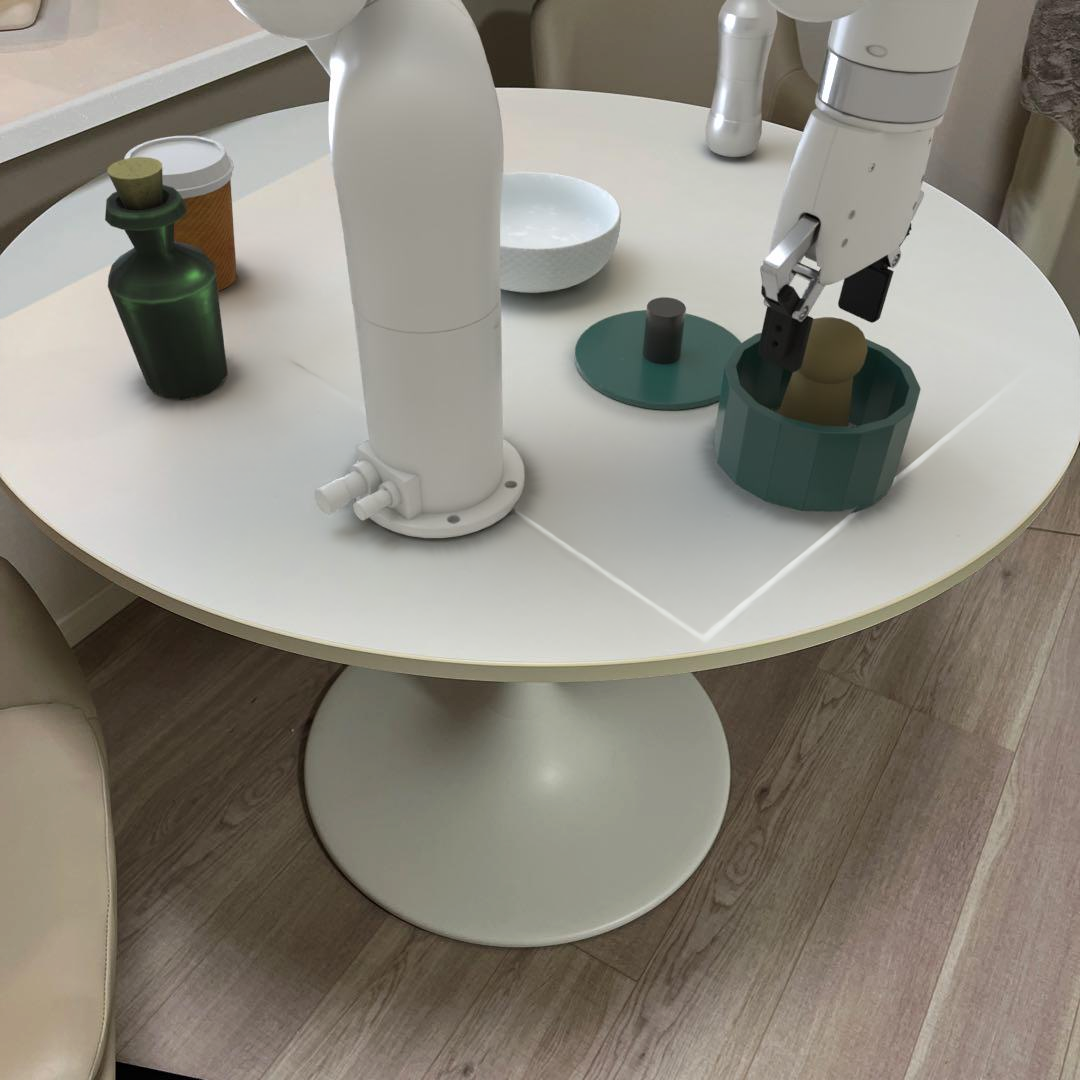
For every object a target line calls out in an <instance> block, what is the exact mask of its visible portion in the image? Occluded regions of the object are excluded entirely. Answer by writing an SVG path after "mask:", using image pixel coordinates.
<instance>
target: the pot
mask: <svg viewBox="0 0 1080 1080" xmlns="http://www.w3.org/2000/svg"><path fill="white" fill-rule="evenodd" d="M761 333H762V332H758V333H756V334H754V335H752V336H750V337H749V338H747V339H745V340H744V341H742V342H741V343H740V344H739V345H737V346H736V347H735V348H734V349H733V351H732V353H731V355H730V357H729V359H728V361H727V362H726V364H725V368H724V375H723V381H722V388H721V394H720V401H718V408H717V415H716V421H715V428H714V433H713V434H714V435H713V441H712V444H713V448H714V454H715V458H716V463H717V464H718V466H719V467H720V468H721V469H722V470H723V471H724V472H725V474H726V475H727V476H728V477H729V479H731V480H732V482H733V483H734V484H735V485H736V486H737V487H740V488H741V489H743V490H745V491H747V492H748V493H750V494H752V495H753V496H755V497H757V498H759V499H760V500H762V501H764V502H765V503H766V502H767V503H770V504H772V505H773V504H774V505H777V506H782V507H786V508H789V509H792V510H795V511H796V510H797V511H801V512H843V511H848V510H851V509H854V510H852V511H851V512H850V514H853V513H854V514H855V513H857V512H861V511H863V510H865V509H868V508H870V507H872V506H874V505H876V503H878V502H879V501H880V500H881V499H882V498H884V497H885V496H886V495H887V494H888V492H889V491H890V489H891V487H892V486H893V483H894V480H895V477H896V475H897V474H896V473H897V470H898V467H899V464H900V461H901V457H902V455H903V451H904V448H905V445H906V441H907V439H908V438H907V437H908V435H909V432H910V428H911V425H912V421H913V418H914V416H915V412H916V409H917V404H918V402H919V397H920V394H921V390H922V389H921V386H920V383H919V382H918V380H917V378H916V376H915V375H916V374H915V373H914V371H913V368H912V367H911V366H910V365H909V364H908V363H906V361H904V360H903V359H902V358H901V357H899V356H898V355H897V354H896V353H894V352H893V351H892V350H891V349H890V348H887V346H883V345H881V344H879V343H876V342H874V341H872V340H870V339H867V338H865V339H866V342H867V354H866V358H865V361H864V364H863V366H862V368H861V369H860V371H859V372H858V373H857V374H856V375H854V376H853V383H852V394H851V404H850V415H849V423H851V424H853V425H855V426H850V425H849V426H820V425H815V424H811V423H807V422H803V421H799V420H794V419H790V418H786V417H784V416H782V415H780V414H778V412H776V411H774V410H772V409H775V408H776V409H777V408H778V409H780V406H781V403H782V401H783V398H784V395H785V393H786V390H787V387H788V384H789V382H790V379H791V376H792V373H793V372H791V371H789V370H787V369H785V368H783V367H781V366H779V365H777V364H775V363H773V362H771V361H769V360H767V359H765V358H763V357H761V356H760V355H759V353H758V347H759V342H760V338H761Z"/></svg>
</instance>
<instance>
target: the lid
mask: <svg viewBox="0 0 1080 1080" xmlns="http://www.w3.org/2000/svg"><path fill="white" fill-rule="evenodd" d="M686 312H687V307H686V305H685V303H684V302H682V300H679V299H676V298H673V297H668V296H667V297H666V296H662V297H656V298H653V299H651V300H649V301H648V303H647V304H646V309H644V310H643V309H642V310H632V311H626V312H621V313H618V314H614V315H611V316H608V317H605V318H602V319H600V320H599V321H597V322H595V323H593V324H592V325H590V326H589V327H587V329H585V330H584V331H583V332H582V334H581V335H580V336H579V338H578V339H577V341H576V345H575V348H574V363H575V367H576V369H577V371H578V373H579V375H580V376H581V377H582V379H583V380H584V381H585V382H586V383H587V384H588V385H589V386H591V387H592V388H593V389H594V390H596V391H597V392H599V393H601V394H602V395H604V396H606V397H608V398H610V399H612V400H615V401H618V402H620V403H623V404H627V405H629V406H633V407H634V406H635V407H638V408H642V409H643V408H644V409H652V410H661V411H662V410H663V411H679V410H688V409H696V408H701V407H705V406H708V405H712V404H715V403H717V402H719V401H720V394H721V388H722V381H723V375H724V368H725V364H726V362H727V361H728V359H729V357H730V355H731V353H732V351H733V349H734V348H735V347H736V346H737V345H739V344H740V343H742V342H741V341H740V339H739V338H738V337H737V336H736V335H734V334H733V333H732V332H731V331H729V330H728V329H726V328H725V327H724V326H722V325H720V324H718V323H716V322H715V321H711V320H709V319H707V318H704V317H700V316H698V315H693V314H689V313H686Z"/></svg>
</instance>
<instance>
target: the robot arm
mask: <svg viewBox="0 0 1080 1080" xmlns="http://www.w3.org/2000/svg"><path fill="white" fill-rule="evenodd" d="M766 1H767V2H768V3H769V4H770V5H771V6H772V7H774V8H775V9H776V11H777V12H779V13H781V14H783V15H784V16H787V17H788V18H790V19H794V20H797V21H801V22H804V23H819V24H821V23H828V22H831V26H830V29H829V30H830V31H829V35H828V38H827V45H826V48H825V53H824V57H823V63H822V68H821V72H820V77H819V82H818V86H817V91H816V95H815V99H814V103H815V106H816V108H814V109H813V110H812V111H811V112H810V115H809V117H808V120H807V122H806V124H805V126H804V128H803V131H802V134H801V137H800V139H799V142H798V144H797V148H796V150H795V154H794V156H793V160H792V162H791V166H790V169H789V172H788V175H787V180H786V182H785V186H784V189H783V193H782V196H781V200H780V203H779V207H778V211H777V215H776V219H775V223H774V226H773V227H774V228H773V230H772V231H773V232H772V235H771V241H770V245H769V252H768V255H767V256H766V257H765V258H764V259H763V261H762V262H761V263H760V264H761V265H760V266H759V267H760V268H759V270H760V271H759V273H760V276H761V277H760V278H761V291H760V293H761V295H762V297H763V305H764V306H765V307H766V310H765V315H764V318H763V319H764V320H763V324H762V329H761V332H760V333H761V338H760V342H759V347H758V353H759V355H760V356H761V357H763V358H765V359H767V360H769V361H771V362H773V363H775V364H777V365H779V366H781V367H783V368H785V369H787V370H789V371H791V372H795V371H797V370H799V369H800V368H801V366H802V363H803V359H804V355H805V351H806V347H807V342H808V338H809V334H810V330H811V326H812V322H813V319H814V317H812V316H810V315H809V314H810V312H811V311H812V309H813V307H814V305H815V304H816V302H817V300H818V299H819V297H820V295H821V294H822V292H823V290H824V289H825V287H826V286H829V285H833V284H836V283H839V282H841V281H843V282H842V287H841V290H840V294H839V298H838V302H837V306H838V308H839V309H840V310H842V311H844V312H846V313H849V314H851V315H853V316H855V317H857V318H860V319H861V320H864V321H866V322H868V323H871V324H872V323H875V322H877V321H878V320H880V318H881V315H882V312H883V308H884V305H885V302H886V298H887V295H888V292H889V289H890V285H891V282H892V279H893V275H894V272H895V271H894V270H892V269H894V268H895V267H897V265H898V264H899V262H900V260H901V258H902V252H901V246H902V244H903V243H904V241H905V240H906V238H907V237H908V236H909V235H910V234H911V233H910V232H911V231H912V230H913V229H912V221H913V219H914V218H915V216H916V213H917V211H918V209H919V207H920V205H921V203H922V201H923V200H924V198H925V197H924V196H925V191H923V190H922V187H923V182H924V178H925V174H926V170H927V167H928V166H927V165H928V162H929V157H930V154H931V148H932V144H933V139H934V135H935V129H936V127H939V125H941V124H942V122H943V120H944V116H945V113H946V111H947V107H948V103H949V101H950V96H951V94H952V90H953V88H954V87H953V86H954V83H955V80H956V77H957V74H958V70H959V66H960V63H961V60H962V57H963V54H964V49H965V46H966V44H967V40H968V36H969V34H970V29H971V27H972V23H973V20H974V16H975V13H976V10H977V6H978V3H979V0H766ZM229 2H230V3H231V4H232V5H233V6H234V8H235V9H236V10H237V11H239V13H241V14H242V16H244V17H246V19H247V20H249V21H250V22H251V23H253V24H254V25H256V26H258V27H259V28H261V29H263V30H265V31H266V32H268V33H269V34H272V35H275V36H278V37H280V38H284V39H288V40H292V41H293V40H294V41H303V42H304V43H305V45H306V46H307V47H308V49H309V51H311V53H312V54H313V55H314V57H315V58H316V59H317V61H318V62H319V64H320V65H321V66H322V67H323V69H324V70H325V72H326V73H327V74H328V76H329V77H330V82H329V99H328V101H329V102H328V142H329V153H330V161H331V169H332V175H333V183H334V188H335V192H336V199H337V205H338V210H339V216H340V223H341V229H342V235H343V243H344V251H345V259H346V266H347V267H346V268H347V275H348V282H349V291H350V299H351V305H352V309H353V317H354V326H355V334H356V342H357V352H358V359H359V368H360V377H361V384H362V392H363V401H364V410H365V418H366V427H367V435H368V440H365V441H364V442H362V443H360V444H358V445H357V446H356V454H357V460H356V462H355V463H354V464H352V465H351V466H350V467H349V468H348V474H346V475H343V476H342V477H340V478H335V479H333V480H331V481H330V482H328V483H326V484H324V485H322V486H320V487H318V488H316V489H314V492H313V495H314V500H315V502H316V505H317V506H318V508H319V509H320V510H321V512H323V513H324V514H325V515H328V516H329V515H331V514H333V513H335V512H337V511H339V510H340V509H342V508H343V507H346V506H347V505H349V504H350V503H352V501H353V500H355V502H354V503H352V509H353V512H354V514H355V515H356V517H357V518H358V519H359V520H361V521H365V520H367V519H370V520H371V521H372V522H374V523H376V524H377V525H378V526H380V527H383V528H384V529H386V530H388V531H389V530H390V531H392V532H394V533H397V534H401V535H404V536H409V537H414V538H421V539H423V538H424V539H445V538H447V539H448V538H455V537H461V536H465V535H469V534H472V533H476V532H479V531H481V530H484V529H486V528H488V527H490V526H493V525H494V524H495V523H497V522H499V521H500V520H502V519H504V518H505V517H506V516H507V515H508V514H510V512H511V511H512V510H514V506H515V504H516V503H517V502H518V500H519V499H520V497H521V496H522V493H523V491H524V488H525V478H526V474H525V464H524V462H523V459H522V457H521V454H520V453H519V452H518V451H517V449H516V448H515V446H514V445H513V444H511V443H510V442H509V441H508V440H507V439H505V438H504V419H503V418H504V412H503V411H504V410H503V409H504V407H503V406H504V405H503V404H504V403H503V342H502V340H503V338H502V331H503V330H502V289H501V280H500V221H501V200H502V185H503V173H504V157H505V156H504V155H505V153H504V152H505V151H504V149H505V146H504V145H505V144H504V129H503V121H502V120H503V119H502V115H501V108H500V104H499V103H500V102H499V98H498V95H497V94H498V93H497V90H496V87H495V82H494V79H493V76H492V75H493V74H492V72H491V68H490V65H489V63H488V59H487V55H486V52H485V48H484V45H483V42H482V39H481V36H480V33H479V32H478V28H477V27H476V24H475V22H474V20H473V19H472V16H471V14H470V13H469V11H468V10H467V8H466V7H465V4H464V3H463V2H462V0H229ZM804 257H805V258H806V259H808V260H810V261H812V262H815V263H816V266H817V267H819V270H817V269H814V268H812V267H811V266H808V265H806V264H804V263H801V262H802V260H803V259H804ZM795 276H797V277H799V278H801V279H803V280H805V281H808V284H807V286H806V288H805V289H804V291H803V293H802V294H801V296H800V295H799V294H798V292H797V291H796V289H795V287H794V286H792V285H791V284H792V282H793V280H794V278H795Z"/></svg>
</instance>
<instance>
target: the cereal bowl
mask: <svg viewBox="0 0 1080 1080" xmlns="http://www.w3.org/2000/svg"><path fill="white" fill-rule="evenodd" d="M621 223H622V210H621V206H620V204H619V202H618V201H617V199H616V198H615V197H614V196H613V195H612V194H611V193H610V192H608V191H607V190H606V189H604V188H602V187H601V186H599V185H597V184H595V183H592V182H590V181H587V180H584V179H581V178H578V177H574V176H570V175H565V174H560V173H553V172H543V171H513V172H503V185H502V200H501V221H500V280H501V290H503V291H510V292H515V293H522V294H540V293H548V292H554V291H560V290H563V289H564V290H565V289H568V288H571V287H574V286H577V285H579V284H581V283H583V282H585V281H587V280H590V279H591V278H592V277H593V276H595V275H597V274H598V272H600V271H601V270H602V269H603V268H604V267H605V266H606V265H607V263H609V261H610V259H611V258H612V256H613V253H615V250H616V246H617V245H618V240H619V237H620V231H621Z"/></svg>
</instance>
